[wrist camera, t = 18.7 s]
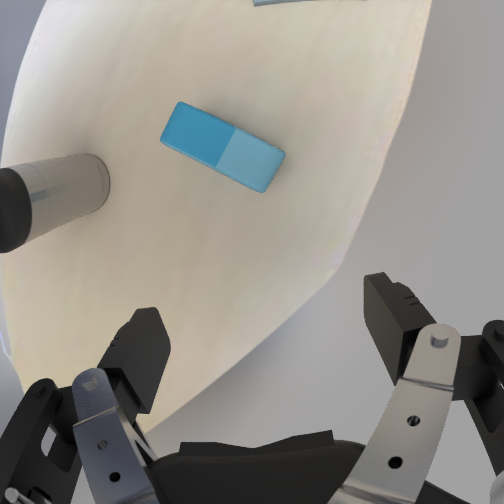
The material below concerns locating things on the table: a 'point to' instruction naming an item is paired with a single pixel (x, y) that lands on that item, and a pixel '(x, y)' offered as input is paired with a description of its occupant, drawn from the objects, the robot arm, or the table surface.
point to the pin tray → (272, 2)
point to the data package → (222, 147)
